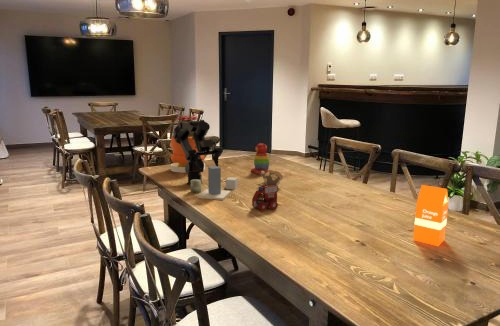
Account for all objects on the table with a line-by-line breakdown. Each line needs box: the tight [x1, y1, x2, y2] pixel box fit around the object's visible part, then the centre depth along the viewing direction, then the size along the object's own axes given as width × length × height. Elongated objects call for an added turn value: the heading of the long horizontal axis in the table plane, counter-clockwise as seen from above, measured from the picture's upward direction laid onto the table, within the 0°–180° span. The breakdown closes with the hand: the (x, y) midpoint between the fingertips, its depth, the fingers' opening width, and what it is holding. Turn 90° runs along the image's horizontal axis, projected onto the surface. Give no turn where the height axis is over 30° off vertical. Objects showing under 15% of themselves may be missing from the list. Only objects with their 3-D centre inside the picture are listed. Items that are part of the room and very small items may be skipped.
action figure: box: [260, 169, 284, 187], centre depth 223 cm, size 10×11×15 cm
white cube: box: [225, 176, 239, 190], centre depth 218 cm, size 5×5×5 cm
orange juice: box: [412, 184, 449, 247], centre depth 149 cm, size 8×9×20 cm
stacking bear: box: [250, 142, 270, 176], centre depth 252 cm, size 11×10×18 cm
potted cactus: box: [169, 112, 206, 173], centre depth 254 cm, size 22×22×35 cm
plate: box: [196, 188, 232, 201], centre depth 204 cm, size 13×13×1 cm
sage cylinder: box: [190, 179, 202, 194], centre depth 209 cm, size 5×5×6 cm
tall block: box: [207, 165, 222, 195], centre depth 203 cm, size 4×4×13 cm
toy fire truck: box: [251, 185, 279, 212], centre depth 184 cm, size 7×12×10 cm, turn 115°
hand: (209, 167), depth 207 cm, fingers open, 9 cm apart
